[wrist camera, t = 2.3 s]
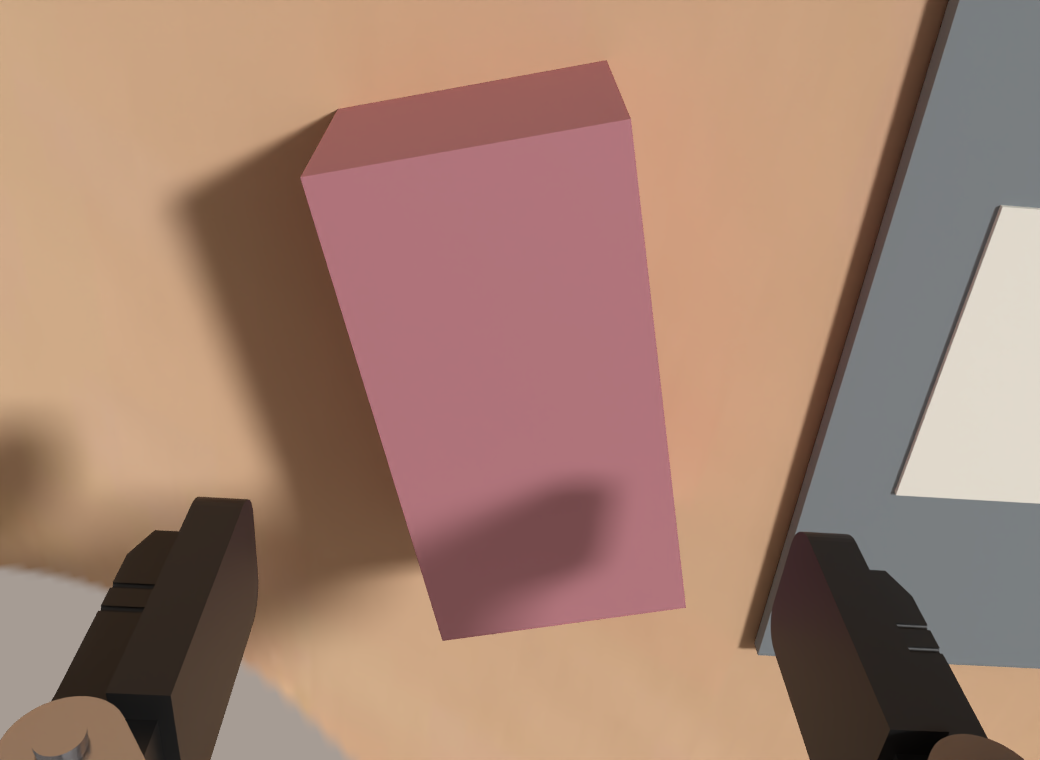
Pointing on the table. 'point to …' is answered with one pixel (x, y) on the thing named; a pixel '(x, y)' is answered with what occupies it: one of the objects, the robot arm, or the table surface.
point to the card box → (507, 343)
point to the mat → (949, 357)
